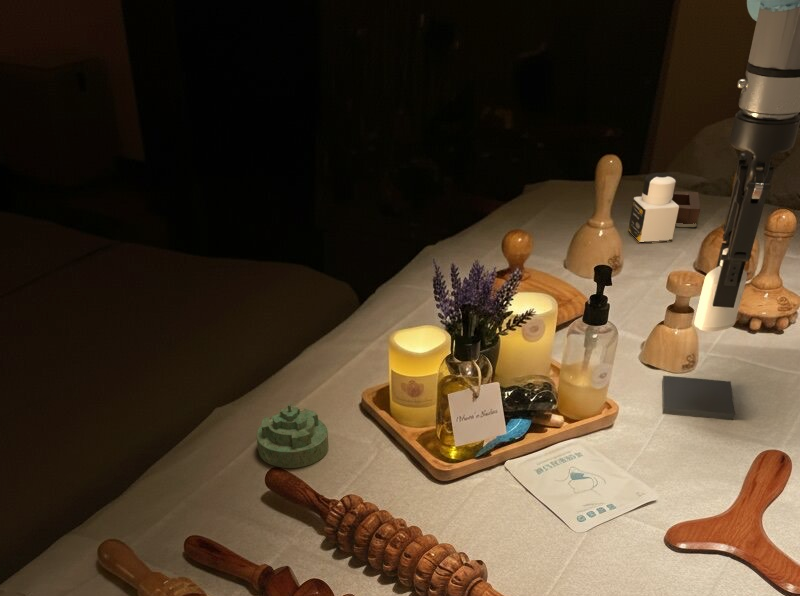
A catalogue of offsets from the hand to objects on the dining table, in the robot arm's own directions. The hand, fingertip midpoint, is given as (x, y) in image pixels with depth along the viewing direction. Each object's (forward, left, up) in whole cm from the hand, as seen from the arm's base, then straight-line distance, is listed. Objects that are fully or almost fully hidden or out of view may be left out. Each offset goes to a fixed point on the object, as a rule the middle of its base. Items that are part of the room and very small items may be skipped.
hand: (722, 298), depth 121 cm
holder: (+3, -80, -16) cm, 82 cm away
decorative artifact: (+56, +25, -16) cm, 63 cm away
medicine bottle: (+7, -68, -16) cm, 70 cm away
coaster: (0, 0, -16) cm, 16 cm away
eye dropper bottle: (0, 0, -4) cm, 4 cm away
